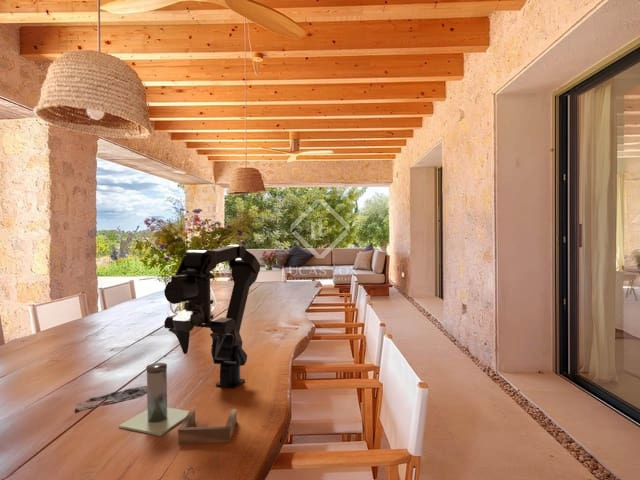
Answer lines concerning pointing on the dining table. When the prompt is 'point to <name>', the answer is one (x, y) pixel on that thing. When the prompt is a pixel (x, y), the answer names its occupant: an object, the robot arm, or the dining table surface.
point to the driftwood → (117, 396)
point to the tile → (159, 428)
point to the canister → (157, 392)
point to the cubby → (206, 430)
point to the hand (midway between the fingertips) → (200, 355)
